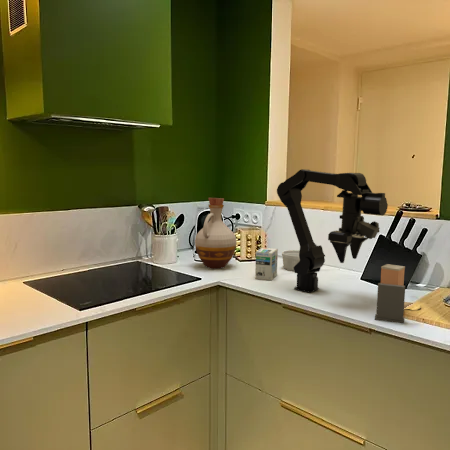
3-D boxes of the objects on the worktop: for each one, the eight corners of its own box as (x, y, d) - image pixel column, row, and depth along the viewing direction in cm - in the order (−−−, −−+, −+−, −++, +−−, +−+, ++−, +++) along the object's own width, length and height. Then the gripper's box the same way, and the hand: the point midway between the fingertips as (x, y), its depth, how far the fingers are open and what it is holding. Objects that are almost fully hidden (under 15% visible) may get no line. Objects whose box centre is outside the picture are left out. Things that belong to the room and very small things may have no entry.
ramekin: (311, 273, 171) (312, 256, 170) (279, 271, 175) (279, 254, 174) (313, 266, 184) (314, 251, 183) (283, 264, 187) (284, 249, 187)
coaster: (392, 306, 129) (393, 305, 128) (400, 301, 134) (400, 300, 134) (416, 312, 124) (416, 310, 124) (424, 306, 129) (424, 305, 129)
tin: (378, 310, 125) (381, 266, 124) (385, 306, 129) (387, 264, 128) (395, 314, 122) (398, 269, 120) (402, 310, 126) (404, 266, 124)
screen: (374, 319, 117) (376, 284, 116) (375, 316, 120) (377, 282, 119) (404, 323, 114) (406, 288, 113) (404, 320, 117) (406, 285, 116)
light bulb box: (271, 281, 158) (272, 253, 157) (254, 279, 160) (255, 251, 159) (277, 274, 168) (278, 248, 167) (261, 273, 170) (261, 247, 169)
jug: (223, 274, 167) (224, 199, 164) (185, 269, 175) (185, 197, 171) (242, 265, 185) (243, 197, 181) (206, 261, 192) (207, 195, 189)
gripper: (364, 217, 120) (360, 270, 122) (388, 213, 134) (384, 260, 136) (328, 213, 127) (325, 263, 130) (355, 210, 141) (351, 255, 143)
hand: (348, 260), depth 134 cm, fingers open, 9 cm apart
